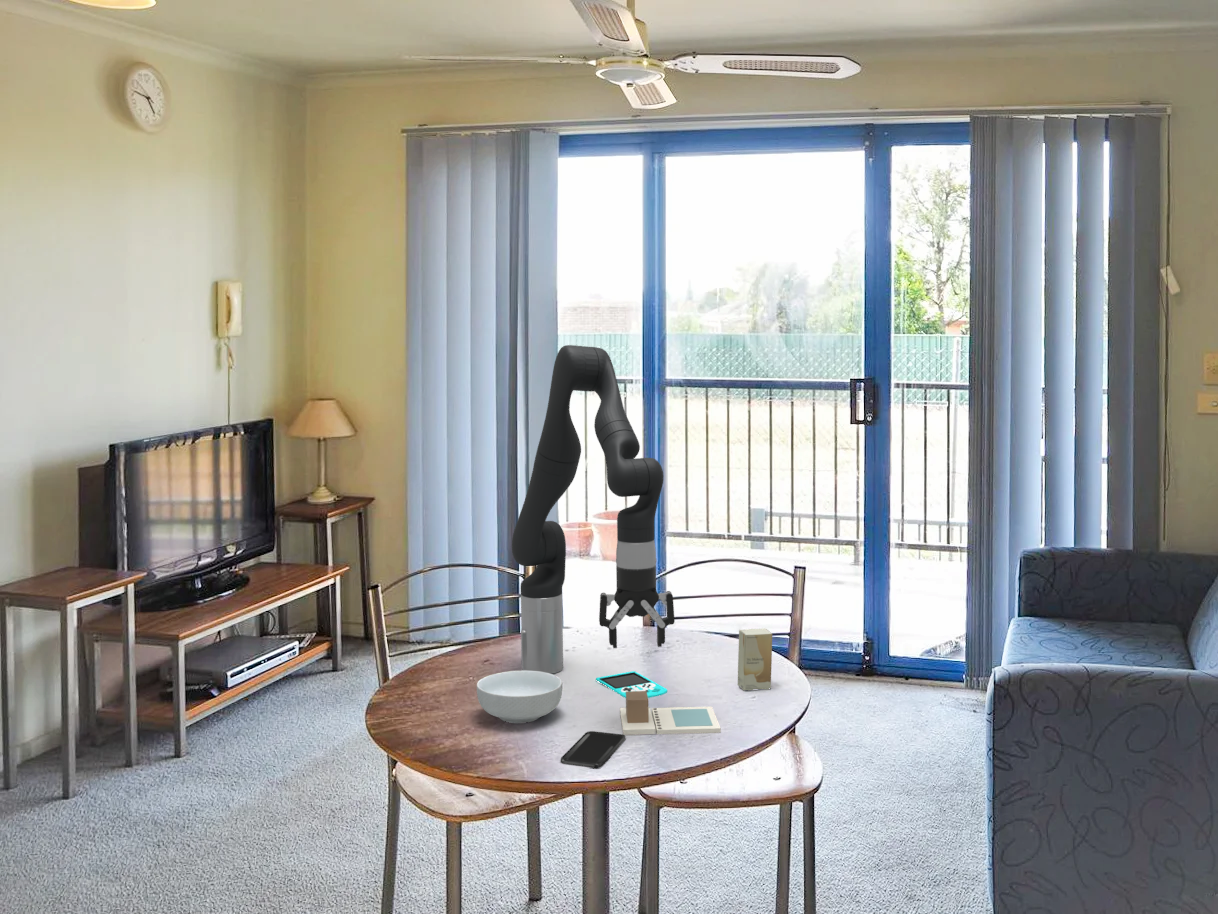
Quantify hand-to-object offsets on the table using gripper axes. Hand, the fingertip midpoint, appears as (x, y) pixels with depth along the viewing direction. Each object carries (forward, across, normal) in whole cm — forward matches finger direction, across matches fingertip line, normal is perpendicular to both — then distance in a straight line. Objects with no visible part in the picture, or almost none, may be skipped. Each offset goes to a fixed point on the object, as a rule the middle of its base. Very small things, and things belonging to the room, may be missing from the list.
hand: (636, 646), depth 213 cm
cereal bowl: (+16, +23, -6) cm, 28 cm away
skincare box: (+16, -26, -20) cm, 36 cm away
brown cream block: (+15, 0, 0) cm, 15 cm away
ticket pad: (+15, -9, 0) cm, 18 cm away
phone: (+16, +9, +13) cm, 22 cm away
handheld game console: (+16, 0, -22) cm, 27 cm away
